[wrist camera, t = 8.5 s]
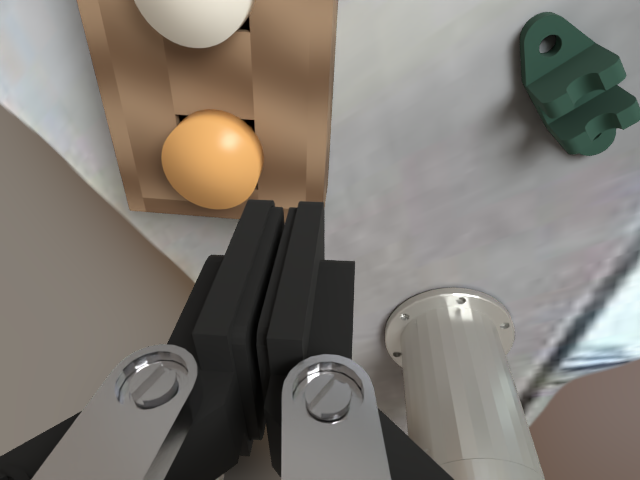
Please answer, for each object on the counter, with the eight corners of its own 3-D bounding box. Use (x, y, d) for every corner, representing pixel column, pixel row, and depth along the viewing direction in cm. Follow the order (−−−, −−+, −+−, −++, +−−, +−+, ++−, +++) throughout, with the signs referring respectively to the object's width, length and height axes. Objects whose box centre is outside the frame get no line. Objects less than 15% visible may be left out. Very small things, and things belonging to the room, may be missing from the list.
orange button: (274, 170, 34) (259, 212, 29) (197, 164, 34) (169, 205, 30) (273, 91, 31) (255, 125, 26) (186, 85, 31) (153, 117, 26)
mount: (499, 39, 29) (520, 58, 25) (567, -8, 28) (602, 5, 24) (564, 161, 34) (590, 194, 30) (626, 128, 32) (663, 158, 28)
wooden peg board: (327, 184, 37) (321, 225, 32) (160, 171, 37) (129, 210, 32) (345, -132, 25) (340, -143, 20) (99, -143, 25) (37, -156, 21)
